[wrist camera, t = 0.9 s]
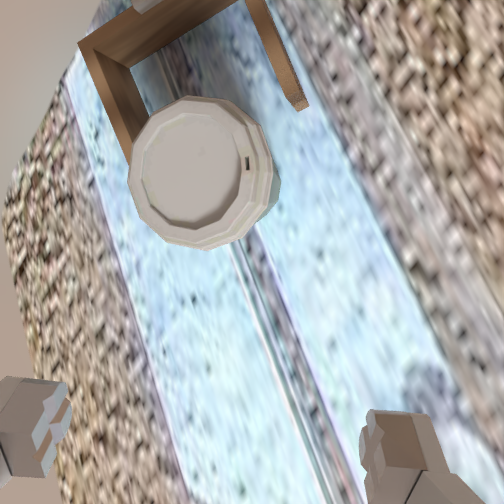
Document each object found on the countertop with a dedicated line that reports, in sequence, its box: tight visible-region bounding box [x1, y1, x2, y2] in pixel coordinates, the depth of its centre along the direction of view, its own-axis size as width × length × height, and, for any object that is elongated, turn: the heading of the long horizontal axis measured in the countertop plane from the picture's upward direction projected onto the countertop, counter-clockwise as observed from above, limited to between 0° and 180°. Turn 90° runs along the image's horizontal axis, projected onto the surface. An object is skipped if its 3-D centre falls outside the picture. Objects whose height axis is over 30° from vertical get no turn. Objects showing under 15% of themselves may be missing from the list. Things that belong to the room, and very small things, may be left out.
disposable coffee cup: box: [127, 95, 281, 251], centre depth 35 cm, size 11×11×15 cm
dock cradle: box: [77, 0, 309, 165], centre depth 38 cm, size 13×16×7 cm
